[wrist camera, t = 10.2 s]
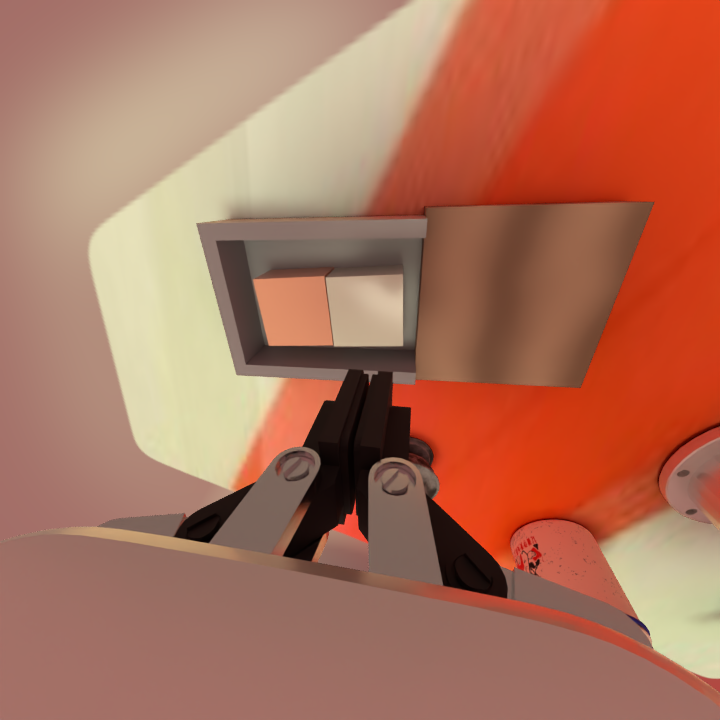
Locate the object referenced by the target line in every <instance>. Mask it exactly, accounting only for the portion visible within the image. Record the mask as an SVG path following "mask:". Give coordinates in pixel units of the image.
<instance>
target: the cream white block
mask: <svg viewBox="0 0 720 720" xmlns="http://www.w3.org/2000/svg"><path fill="white" fill-rule="evenodd" d="M326 286H327V294H328V302H329V310H330V318H331V326H332V333H333V341H334V346H403V265H389V266H368V267H347V268H335V269H334V270H333V271H332V272H331V273H330V274H329V275H328V276H327V277H326Z"/></svg>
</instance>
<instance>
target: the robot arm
mask: <svg viewBox="0 0 720 720" xmlns="http://www.w3.org/2000/svg"><path fill="white" fill-rule="evenodd" d="M392 388H393V372H388V371H378V374H373V375H372V378H371V382H370V385H369V374H364V371H363V370H358V369H349V370H348V372H347V374H346V377H345V379H344V381H343V384H342V386H341V388H340V391H339V393H338V395H337V398H336V400H335V401H328V400H326V401H324V403H323V405H322V407H321V409H320V411H319V413H318V415H317V417H316V419H315V422H314V424H313V426H312V428H311V430H310V432H309V434H308V436H307V438H306V440H305V442H304V445H303V447H294V448H290V449H287V450H285V451H283V452H282V453H280V454H279V455H278V456H277V457H276V458H274V460H273V461H272V462H271V463H270V465H269V466H268V467H267V469H266V470H265V471H264V472H263V474H262V475H261V476H260V478H259V479H258V480H257V482H255V483H252V484H250V485H248V486H246V487H244V488H242V489H240V490H238V491H236V492H234V493H233V494H230V495H228V496H226V497H224V498H222V499H220V500H218V501H216V502H214V503H212V504H210V505H208V506H206V507H204V508H202V509H200V510H198V511H197V512H195V513H193V514H192V515H191V516H189V517H186V515H185V514H184V513H182V514H168V515H155V516H142V517H129V518H119V519H114V520H110V521H107V522H105V523H103V524H101V525H99V526H97V527H68V528H57V529H48V530H43V531H38V532H33V533H29V534H24V535H19V536H16V537H12V538H9V539H5V540H3V541H0V720H720V693H719V692H718V691H717V690H715V689H714V688H713V687H711V686H710V685H708V684H707V683H705V682H704V681H703V680H701V679H700V678H698V677H697V676H695V675H694V674H692V673H691V672H689V671H688V670H686V669H685V668H683V667H682V666H680V665H679V664H677V663H675V662H674V661H672V660H670V659H669V658H667V657H665V656H664V655H662V654H660V653H658V652H657V651H655V650H654V649H653V647H652V645H651V643H650V641H649V639H648V637H647V636H646V635H645V634H644V632H643V631H642V630H641V629H640V627H639V626H638V625H637V624H636V623H635V622H634V621H633V620H632V619H631V618H629V617H628V616H627V615H626V614H625V613H624V612H622V611H621V610H619V609H617V608H615V607H613V606H612V605H610V604H608V603H605V602H603V601H600V600H598V599H595V598H592V597H590V596H587V595H585V594H582V593H580V592H577V591H574V590H572V589H569V588H567V587H564V586H562V585H559V584H556V583H554V582H551V581H549V580H546V579H543V578H541V577H538V576H536V575H533V574H531V573H528V572H525V571H523V570H520V569H518V568H515V567H514V570H513V571H511V570H508V569H506V568H503V567H501V566H500V565H499V564H498V563H497V562H496V561H495V559H494V558H493V557H492V556H491V555H490V554H489V553H488V552H487V551H486V550H485V549H484V548H483V547H482V546H481V545H480V544H479V543H477V542H476V541H475V540H474V539H473V538H472V537H471V536H470V535H469V534H468V533H467V532H466V531H465V530H464V529H463V528H462V527H461V526H460V525H459V524H457V523H456V522H455V521H454V520H453V519H452V518H451V517H450V516H449V515H448V514H447V513H446V512H445V511H444V510H443V509H442V508H441V507H440V506H439V505H437V504H436V503H435V502H434V501H433V500H432V499H431V498H430V497H429V496H428V495H427V494H426V493H425V490H424V485H423V480H422V476H421V474H420V471H419V470H418V469H417V467H416V466H415V465H414V464H412V463H411V462H409V442H410V417H411V408H410V407H398V406H392ZM659 488H660V492H661V494H662V495H663V497H664V498H665V500H666V501H667V502H668V503H669V504H670V505H671V506H672V507H673V508H674V510H675V511H677V512H678V513H680V514H681V515H683V516H685V517H688V518H690V519H693V520H695V521H700V522H704V523H709V524H714V525H715V526H716V528H717V529H718V530H719V531H720V426H719V427H717V428H714V429H712V430H709V431H707V432H705V433H703V434H701V435H699V436H698V437H696V438H694V439H692V440H691V441H689V442H688V443H687V444H685V445H684V446H682V447H681V448H680V449H679V450H678V451H676V452H675V453H674V454H673V455H672V456H671V457H670V459H669V460H668V461H667V463H666V464H665V465H664V467H663V469H662V472H661V474H660V477H659ZM355 499H356V515H358V525H359V530H360V531H361V532H362V534H363V535H364V537H365V538H366V539H367V541H368V546H369V547H368V549H369V550H368V554H369V555H368V563H369V565H368V566H369V567H368V569H369V570H368V572H365V571H360V570H355V569H349V568H344V567H338V566H332V565H327V564H322V563H318V560H319V559H320V556H321V554H322V552H323V549H324V547H325V545H326V542H327V539H328V535H329V531H330V530H331V529H333V528H335V527H336V526H338V524H343V525H344V522H345V518H346V514H351V515H352V513H353V508H354V504H355Z"/></svg>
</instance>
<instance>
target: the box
mask: <svg viewBox="0 0 720 720" xmlns="http://www.w3.org/2000/svg"><path fill="white" fill-rule="evenodd" d="M196 224H197V227H198V231H199V235H200V239H201V242H202V246H203V250H204V254H205V257H206V261H207V265H208V269H209V273H210V276H211V280H212V284H213V288H214V291H215V295H216V299H217V303H218V306H219V310H220V314H221V318H222V322H223V325H224V329H225V333H226V337H227V340H228V344H229V348H230V352H231V355H232V359H233V363H234V367H235V371H236V374H237V375H244V376H263V377H282V378H301V379H319V380H338V381H344V379H345V377H346V374H347V372H348V370H349V369H358V370H363V371H364V374H369V382H371V378H372V375H373V374H378V371H388V372H393V383H395V384H414V385H415V378H416V365H415V340H416V326H417V312H418V297H419V283H420V269H421V255H422V240H423V238H426V232H427V218H426V217H425V216H424V215H399V216H354V217H309V218H264V219H228V220H220V221H212V222H204V223H196ZM389 265H403V346H334V345H316V346H269V344H268V340H267V336H266V332H265V328H264V323H263V319H262V315H261V311H260V307H259V303H258V299H257V295H256V290H255V286H254V282H253V279H254V278H256V277H258V276H260V275H262V274H264V273H266V272H268V271H269V270H280V269H300V268H320V267H334V269H335V268H347V267H368V266H389Z"/></svg>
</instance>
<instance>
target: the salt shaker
mask: <svg viewBox="0 0 720 720" xmlns="http://www.w3.org/2000/svg"><path fill="white" fill-rule="evenodd" d="M409 462H411V463H412V464H414V465H415V466H416V467H417V469H418V470H419V471H420V474H421V476H422V480H423V485H424V490H425V493H426V494H427V495H428V496H429V497H430V498H431V499H433V498H434V497H435V496H436V495H437V493H438V491H439V480H438V477H437V476H436V475H435V473H434V471H433V469H432V468H431V464H432V462H433V453H432V450H431V448H430V447H429V446H428V445H427V444H426V443H425V442H423V441H421V440H419V439H417V438H412V437H410V442H409Z"/></svg>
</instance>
